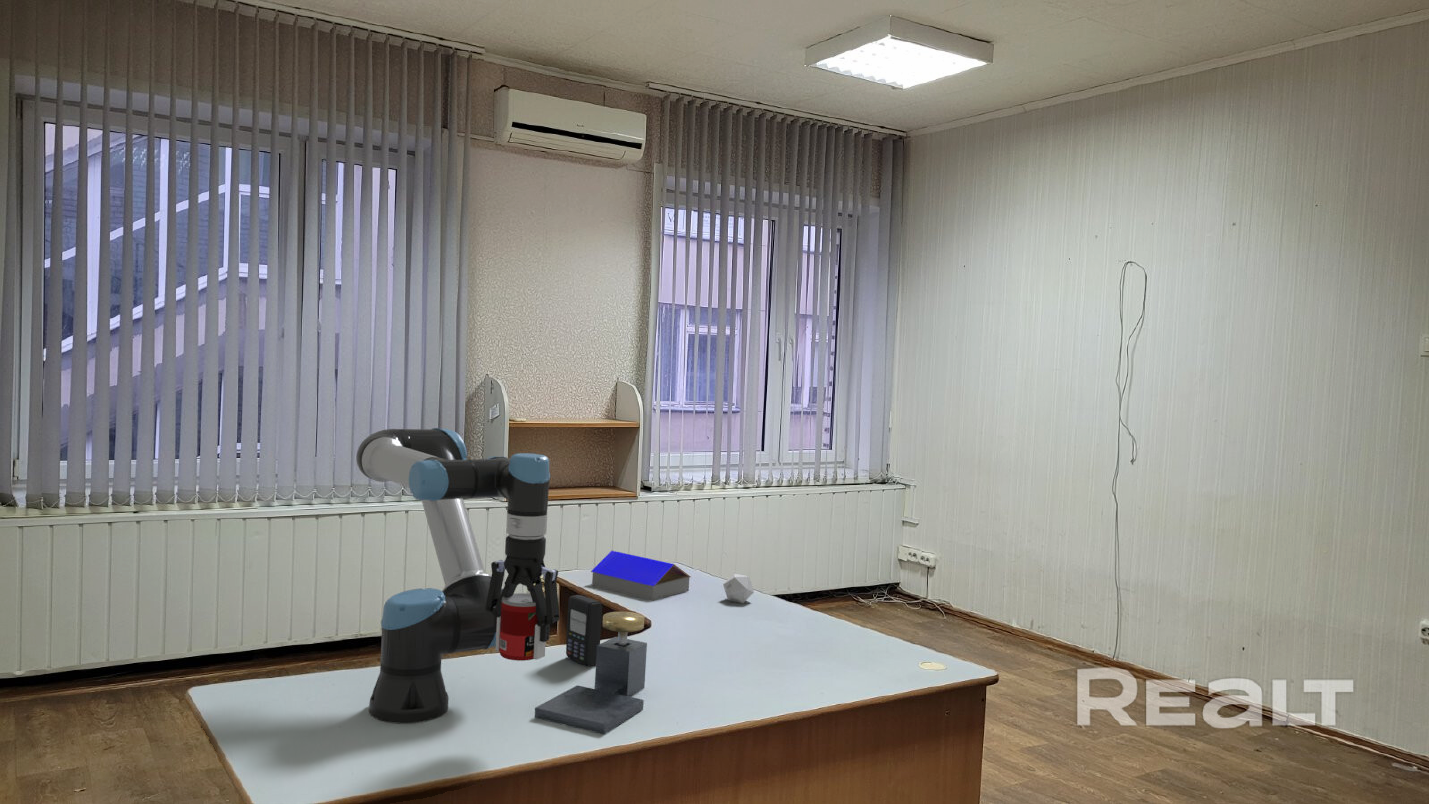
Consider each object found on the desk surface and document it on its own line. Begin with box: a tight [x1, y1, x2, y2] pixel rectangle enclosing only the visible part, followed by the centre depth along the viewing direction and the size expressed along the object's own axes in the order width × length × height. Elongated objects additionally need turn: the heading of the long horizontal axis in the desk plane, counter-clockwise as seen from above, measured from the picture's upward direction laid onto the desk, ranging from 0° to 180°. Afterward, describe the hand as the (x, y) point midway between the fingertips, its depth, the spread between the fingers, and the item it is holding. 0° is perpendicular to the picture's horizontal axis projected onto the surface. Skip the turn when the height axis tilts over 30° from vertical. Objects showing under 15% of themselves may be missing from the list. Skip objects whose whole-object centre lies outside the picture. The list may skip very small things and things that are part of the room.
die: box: [722, 573, 755, 604], centre depth 307 cm, size 8×9×10 cm
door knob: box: [601, 611, 645, 647], centre depth 222 cm, size 9×9×10 cm
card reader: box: [565, 594, 603, 667], centre depth 240 cm, size 9×4×15 cm, turn 45°
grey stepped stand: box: [534, 636, 648, 735], centre depth 213 cm, size 16×28×10 cm, turn 156°
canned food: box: [499, 592, 539, 662], centre depth 195 cm, size 8×8×11 cm
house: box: [590, 550, 692, 601], centre depth 316 cm, size 19×25×10 cm
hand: (520, 653), depth 195 cm, fingers closed on canned food, 8 cm apart
